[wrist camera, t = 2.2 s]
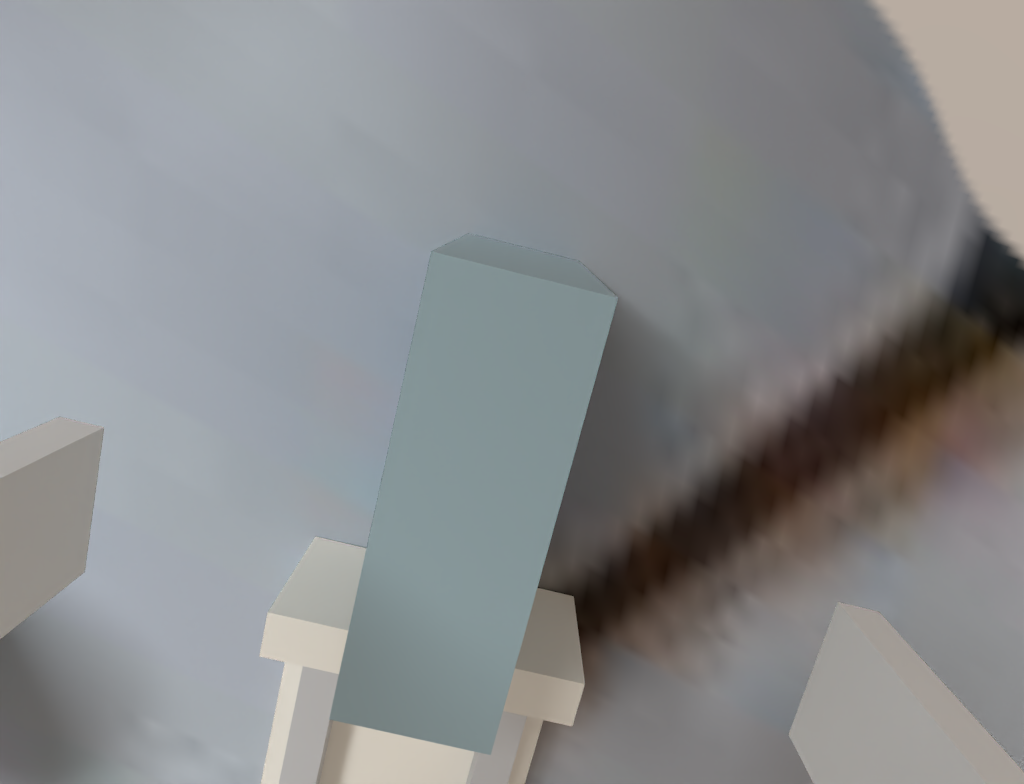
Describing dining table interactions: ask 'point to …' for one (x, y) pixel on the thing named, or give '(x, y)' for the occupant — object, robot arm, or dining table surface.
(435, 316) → the door panel
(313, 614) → the track board
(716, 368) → the dining table surface
